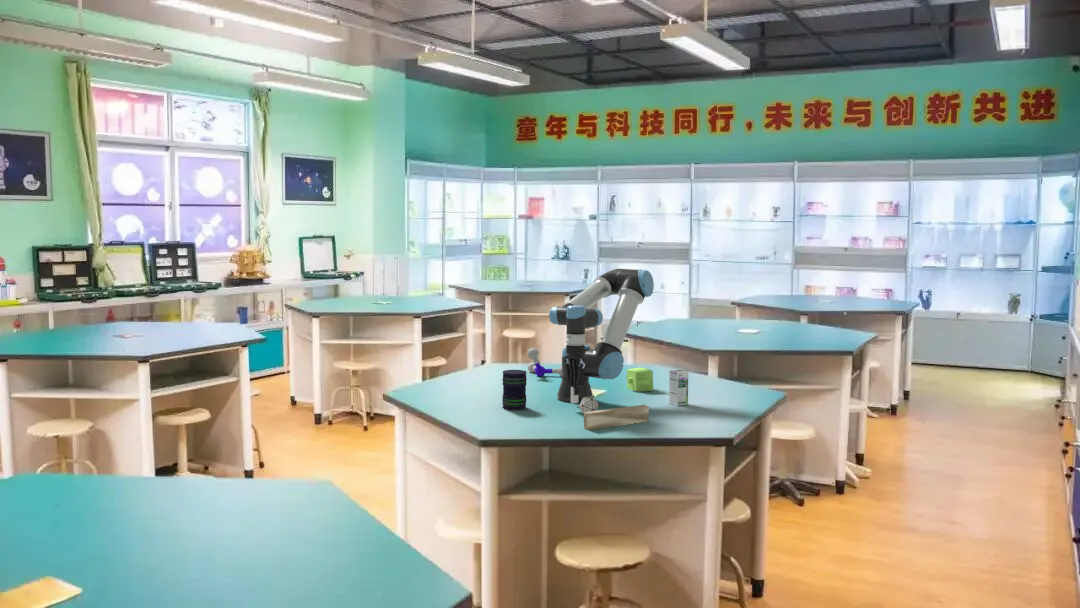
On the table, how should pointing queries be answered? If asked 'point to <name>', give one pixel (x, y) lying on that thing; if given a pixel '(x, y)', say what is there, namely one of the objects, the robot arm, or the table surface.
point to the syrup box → (678, 387)
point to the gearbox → (640, 379)
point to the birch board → (615, 417)
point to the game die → (588, 404)
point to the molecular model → (536, 367)
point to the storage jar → (514, 389)
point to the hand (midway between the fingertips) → (574, 402)
